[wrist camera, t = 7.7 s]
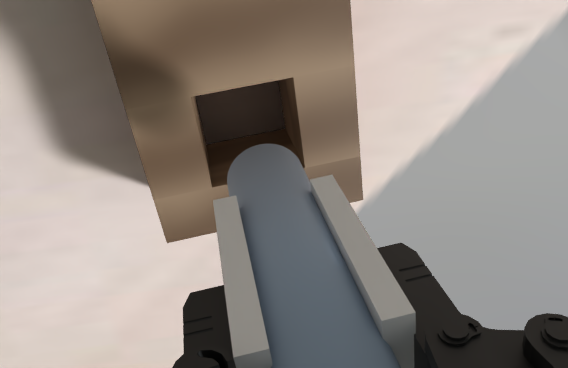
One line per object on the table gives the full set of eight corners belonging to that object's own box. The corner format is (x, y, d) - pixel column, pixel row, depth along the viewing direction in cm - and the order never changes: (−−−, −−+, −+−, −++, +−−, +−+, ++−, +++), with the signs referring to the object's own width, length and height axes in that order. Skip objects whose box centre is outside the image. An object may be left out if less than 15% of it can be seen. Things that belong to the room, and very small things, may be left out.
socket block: (95, -55, 22) (76, -46, 18) (313, -90, 23) (344, -90, 19) (168, 193, 29) (166, 242, 24) (335, 157, 30) (363, 199, 25)
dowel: (257, 129, 18) (341, 357, 9) (318, 168, 20) (448, 406, 10) (211, 189, 19) (242, 458, 10) (272, 223, 20) (353, 492, 11)
